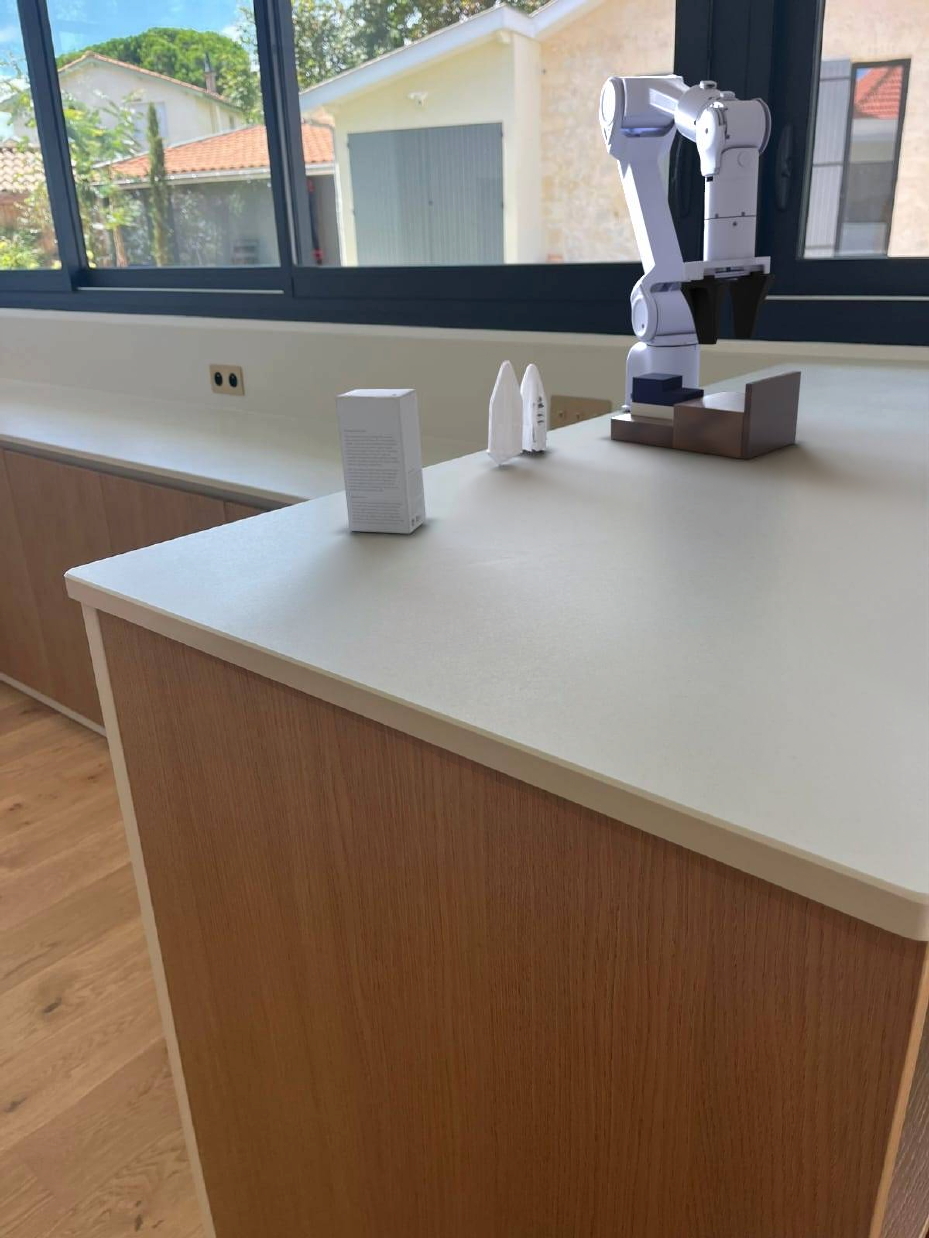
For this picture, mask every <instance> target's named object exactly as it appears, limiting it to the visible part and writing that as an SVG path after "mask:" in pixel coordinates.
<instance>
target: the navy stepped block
mask: <svg viewBox="0 0 929 1238" xmlns="http://www.w3.org/2000/svg"><path fill="white" fill-rule="evenodd" d="M682 379H683V375H673V374H662V373H649V374H645V375H640V376H636V377H633V380H632V402H630V410H629V414H631V415H638V416H646V417H654V418H662V419H670V420H673V408H674V404H677V403H681V402H685V401H689V400H693V399H697V398H700V397H704V396H705V389H703V388H698V389H694V388H684V387H682Z"/></svg>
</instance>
